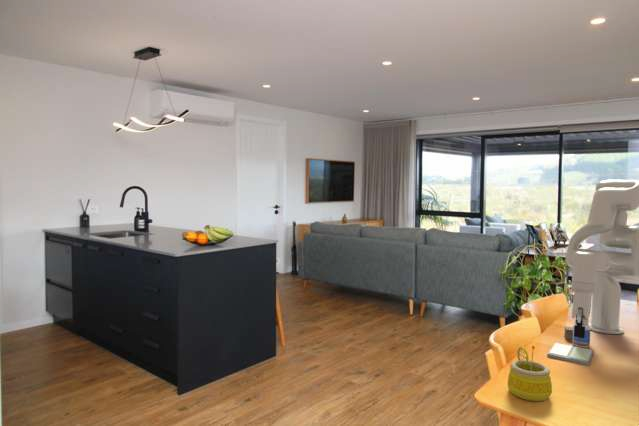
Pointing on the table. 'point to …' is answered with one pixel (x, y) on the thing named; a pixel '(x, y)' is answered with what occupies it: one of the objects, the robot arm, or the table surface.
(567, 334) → the walnut block
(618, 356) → the table surface
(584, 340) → the pill bottle
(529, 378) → the yellow-green planter pot
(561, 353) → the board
